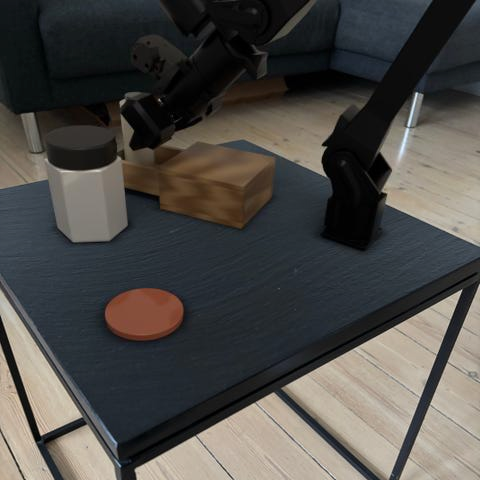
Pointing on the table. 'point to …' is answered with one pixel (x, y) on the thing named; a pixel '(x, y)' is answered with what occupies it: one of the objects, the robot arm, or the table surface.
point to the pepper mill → (139, 156)
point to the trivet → (144, 314)
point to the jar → (86, 183)
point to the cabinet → (216, 183)
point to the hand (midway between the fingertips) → (141, 142)
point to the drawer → (145, 170)
